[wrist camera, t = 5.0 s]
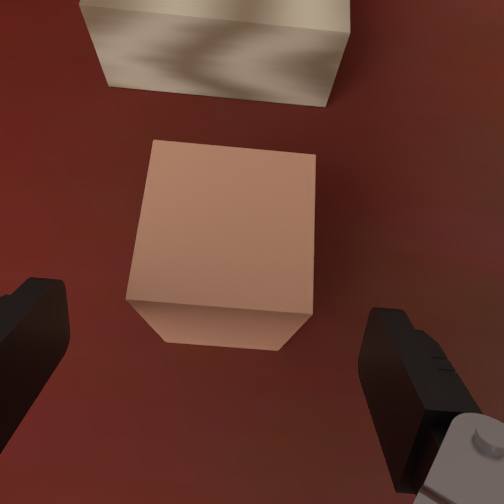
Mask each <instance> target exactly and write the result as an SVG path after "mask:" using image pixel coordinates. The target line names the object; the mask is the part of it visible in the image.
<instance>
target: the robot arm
mask: <svg viewBox="0 0 504 504" xmlns="http://www.w3.org/2000/svg"><path fill="white" fill-rule="evenodd" d="M69 339H70V325H69V316H68V306H67V297H66V288H65V284H64V282H63V281H62V280H57V279H46V278H34V277H31V278H28V279H27V280H26V281H25V282H24V283H23V284H22V285H21V286H20V287H19V288H18V289H17V290H16V291H15V292H14V293H13V294H11V295H4V296H2V297H0V454H1V452H2V451H3V449H4V447H5V446H6V444H7V443H8V441H9V440H10V438H11V437H12V435H13V433H14V432H15V430H16V429H17V427H18V426H19V424H20V423H21V421H22V420H23V418H24V416H25V415H26V413H27V412H28V410H29V409H30V407H31V406H32V404H33V403H34V401H35V399H36V398H37V396H38V395H39V393H40V392H41V390H42V389H43V387H44V386H45V384H46V382H47V381H48V379H49V378H50V376H51V375H52V373H53V372H54V370H55V369H56V367H57V365H58V364H59V362H60V361H61V359H62V358H63V356H64V354H65V353H66V350H67V348H68V344H69ZM358 373H359V378H360V382H361V385H362V388H363V391H364V394H365V397H366V401H367V404H368V407H369V410H370V413H371V416H372V419H373V422H374V426H375V429H376V432H377V435H378V438H379V441H380V444H381V447H382V450H383V454H384V457H385V460H386V463H387V466H388V469H389V472H390V475H391V479H392V482H393V485H394V488H395V491H396V493H410V494H415V495H416V499H415V501H414V503H413V504H504V423H502V422H500V421H498V420H496V419H494V418H491V417H489V416H486V415H483V413H482V412H481V410H480V408H479V407H478V405H477V404H476V402H475V400H474V399H473V397H472V396H471V394H470V393H469V391H468V389H467V388H466V386H465V385H464V383H463V382H462V380H461V378H460V377H459V375H458V374H457V373H455V369H454V367H453V366H452V364H451V363H450V361H447V356H446V355H445V353H444V352H443V350H442V349H441V347H440V345H439V344H438V343H437V342H436V341H435V340H433V339H432V338H431V337H430V336H429V335H427V334H426V333H425V332H424V331H423V330H415V329H414V327H413V325H412V324H411V322H410V320H409V319H408V317H407V315H406V313H405V312H404V311H403V310H400V309H388V308H376V307H374V308H372V309H371V311H370V314H369V317H368V321H367V325H366V329H365V333H364V337H363V341H362V345H361V349H360V354H359V360H358Z"/></svg>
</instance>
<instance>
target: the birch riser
mask: <svg viewBox="0 0 504 504" xmlns="http://www.w3.org/2000/svg"><path fill="white" fill-rule="evenodd" d="M79 6H80V9H81V12H82V14H83V17H84V20H85V23H86V25H87V28H88V31H89V34H90V36H91V39H92V42H93V44H94V47H95V50H96V53H97V55H98V58H99V61H100V64H101V66H102V69H103V72H104V75H105V77H106V80H107V83H108V86H111V87H121V88H132V89H142V90H152V91H163V92H173V93H183V94H194V95H204V96H214V97H225V98H235V99H245V100H256V101H266V102H276V103H287V104H297V105H307V106H318V107H326V104H327V101H328V98H329V95H330V92H331V89H332V86H333V83H334V80H335V77H336V74H337V71H338V68H339V65H340V62H341V59H342V56H343V53H344V50H345V47H346V44H347V41H348V38H349V35H350V0H80V3H79Z"/></svg>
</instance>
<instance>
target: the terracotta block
mask: <svg viewBox="0 0 504 504" xmlns="http://www.w3.org/2000/svg"><path fill="white" fill-rule="evenodd" d="M315 168H316V155H313V154H303V153H292V152H281V151H270V150H259V149H248V148H237V147H226V146H215V145H205V144H194V143H183V142H172V141H161V140H153V146H152V151H151V157H150V163H149V168H148V174H147V180H146V186H145V191H144V197H143V203H142V208H141V214H140V220H139V225H138V231H137V237H136V242H135V248H134V254H133V259H132V265H131V271H130V276H129V282H128V288H127V293H126V300H127V301H128V303H129V304H130V305H131V306H132V307H133V308H134V309H135V310H136V311H137V312H138V313H139V314H140V315H141V316H142V317H143V318H144V320H145V321H146V322H147V323H148V324H149V325H150V326H151V327H152V328H153V329H154V330H155V331H156V332H157V333H158V334H159V335H160V336H161V338H162V339H163V340H164V341H165V342H171V343H184V344H197V345H210V346H223V347H236V348H249V349H262V350H275V351H278V350H279V349H280V348H281V347H282V346H283V345H284V344H285V343H286V342H287V341H288V340H289V339H290V338H291V337H292V336H293V335H294V334H295V333H296V331H297V330H298V329H299V328H300V327H301V326H302V325H303V324H304V323H305V322H306V321H307V320H308V319H309V318H310V317H311V316H312V315H313V277H314V223H315Z"/></svg>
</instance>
